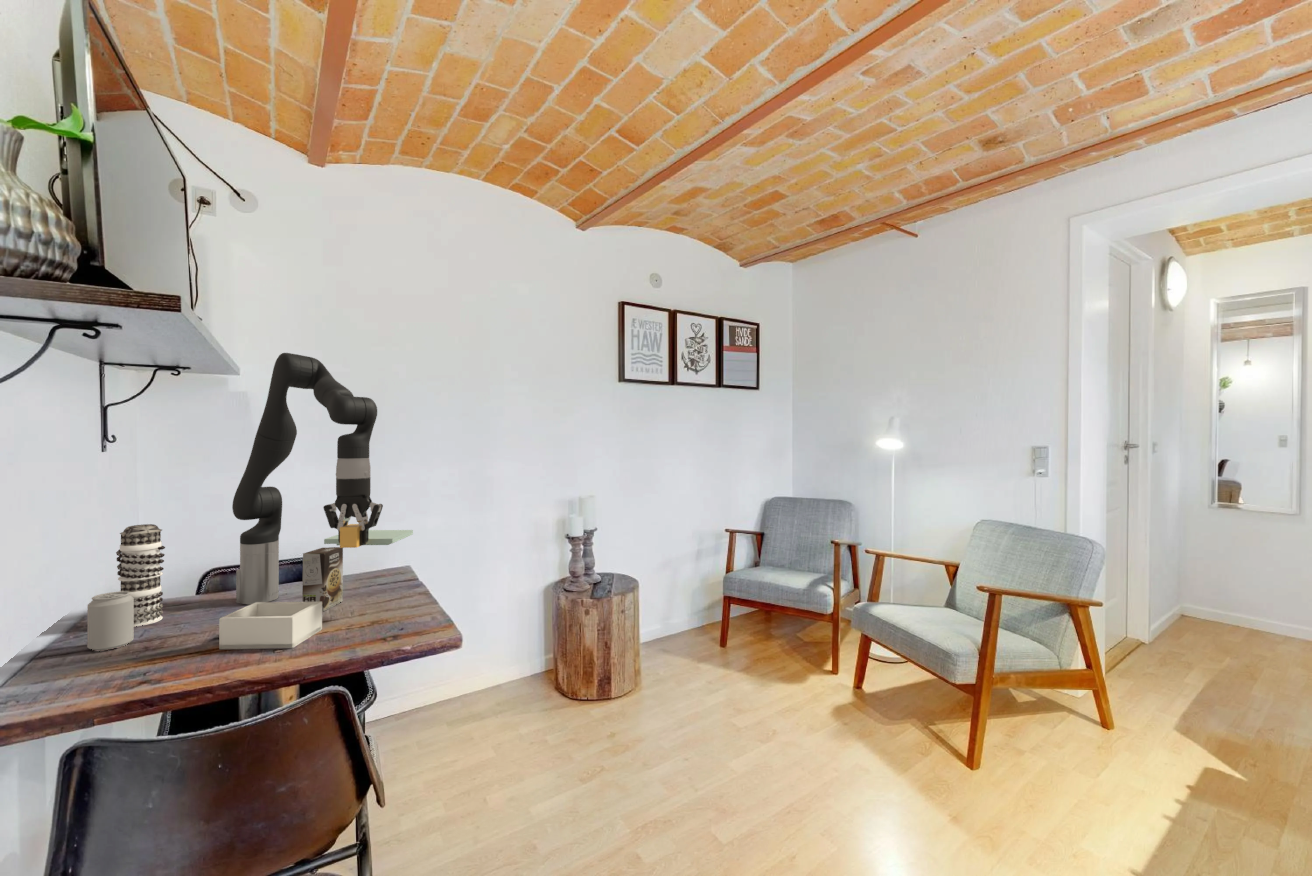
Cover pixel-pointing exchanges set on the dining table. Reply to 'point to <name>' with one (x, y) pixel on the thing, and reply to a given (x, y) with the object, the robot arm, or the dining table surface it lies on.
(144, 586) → the decorative candle
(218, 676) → the dining table surface
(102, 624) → the can
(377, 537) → the lid
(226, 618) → the tub
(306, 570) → the coffee box
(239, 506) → the robot arm
